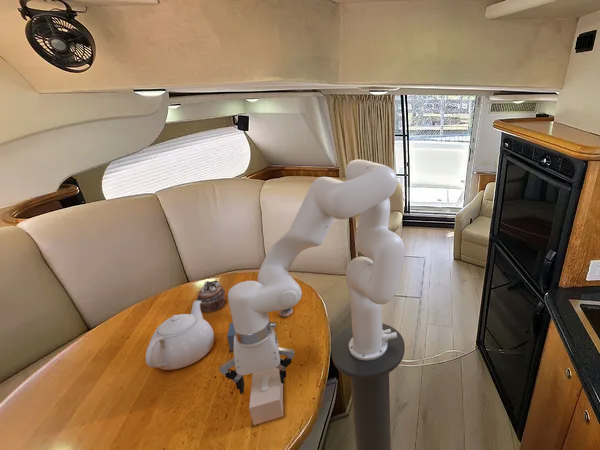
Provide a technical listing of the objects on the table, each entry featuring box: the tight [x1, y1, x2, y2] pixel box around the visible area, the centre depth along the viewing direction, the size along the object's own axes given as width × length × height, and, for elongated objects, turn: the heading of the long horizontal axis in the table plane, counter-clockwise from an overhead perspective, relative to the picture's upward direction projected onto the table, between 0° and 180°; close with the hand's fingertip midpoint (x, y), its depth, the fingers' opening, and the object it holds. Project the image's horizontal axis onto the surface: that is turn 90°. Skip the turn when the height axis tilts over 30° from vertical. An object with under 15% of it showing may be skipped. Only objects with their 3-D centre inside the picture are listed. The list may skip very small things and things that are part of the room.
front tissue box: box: [248, 367, 284, 426], centre depth 82 cm, size 12×7×6 cm, turn 20°
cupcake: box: [196, 280, 226, 313], centre depth 121 cm, size 10×10×10 cm
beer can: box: [278, 307, 294, 317], centre depth 116 cm, size 5×5×12 cm
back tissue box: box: [226, 314, 271, 352], centre depth 104 cm, size 12×7×6 cm, turn 110°
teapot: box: [145, 300, 215, 371], centre depth 97 cm, size 19×18×14 cm
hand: (262, 384), depth 81 cm, fingers open, 9 cm apart
